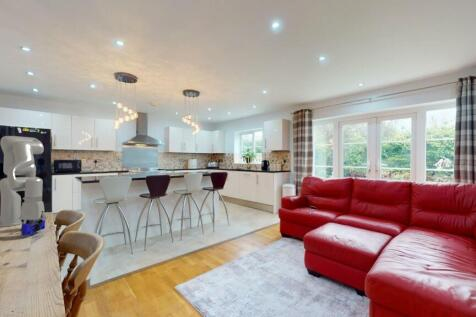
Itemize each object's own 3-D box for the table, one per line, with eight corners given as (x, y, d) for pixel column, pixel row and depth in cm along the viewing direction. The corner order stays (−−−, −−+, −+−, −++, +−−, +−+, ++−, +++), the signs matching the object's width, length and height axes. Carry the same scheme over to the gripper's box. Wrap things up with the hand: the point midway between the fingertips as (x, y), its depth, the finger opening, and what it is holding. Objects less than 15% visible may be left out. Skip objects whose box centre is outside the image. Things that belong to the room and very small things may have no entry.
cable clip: (37, 228, 136) (37, 218, 136) (44, 228, 136) (45, 218, 136) (18, 235, 124) (18, 224, 124) (26, 235, 124) (27, 224, 124)
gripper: (11, 200, 125) (10, 233, 125) (44, 201, 127) (43, 232, 127) (23, 198, 132) (21, 228, 132) (53, 198, 134) (52, 228, 134)
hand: (32, 230), depth 130 cm, fingers closed on cable clip, 4 cm apart
